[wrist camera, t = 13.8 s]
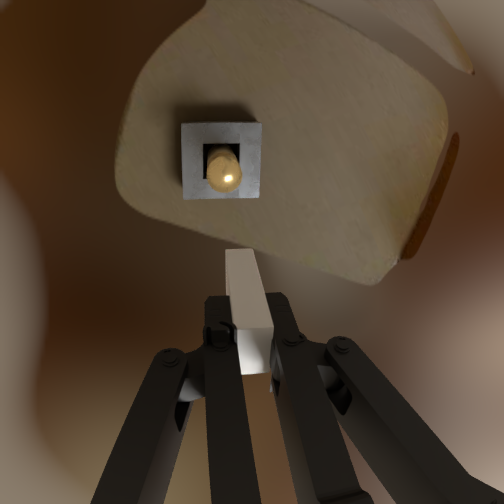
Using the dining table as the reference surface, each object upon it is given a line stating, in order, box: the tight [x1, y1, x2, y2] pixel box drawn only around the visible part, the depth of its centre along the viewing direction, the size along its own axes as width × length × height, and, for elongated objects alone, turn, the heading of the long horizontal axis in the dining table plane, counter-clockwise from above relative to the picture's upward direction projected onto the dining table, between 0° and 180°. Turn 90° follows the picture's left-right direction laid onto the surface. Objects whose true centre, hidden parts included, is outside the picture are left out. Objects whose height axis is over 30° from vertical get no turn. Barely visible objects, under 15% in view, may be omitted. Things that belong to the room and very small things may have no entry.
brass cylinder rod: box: [207, 143, 242, 193], centre depth 44 cm, size 4×4×14 cm
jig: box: [181, 121, 262, 199], centre depth 48 cm, size 12×12×4 cm
